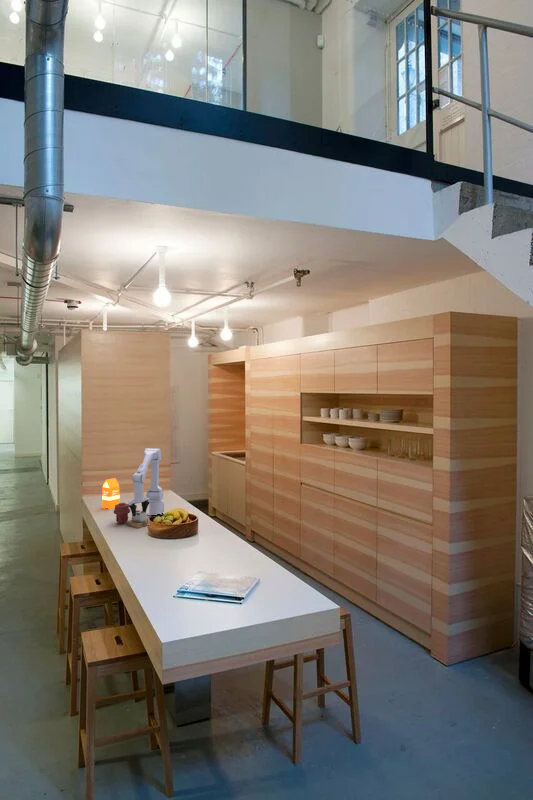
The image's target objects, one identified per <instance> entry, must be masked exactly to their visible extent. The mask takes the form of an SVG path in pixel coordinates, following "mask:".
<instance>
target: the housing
mask: <svg viewBox="0 0 533 800" xmlns="http://www.w3.org/2000/svg"><path fill="white" fill-rule="evenodd" d="M146 519H147V511H146V512H144V511H142V510H138V509H136V516H133V515H132V514H131V520H132V521H136V522H140V523H141V522H145V521H146Z"/></svg>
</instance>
